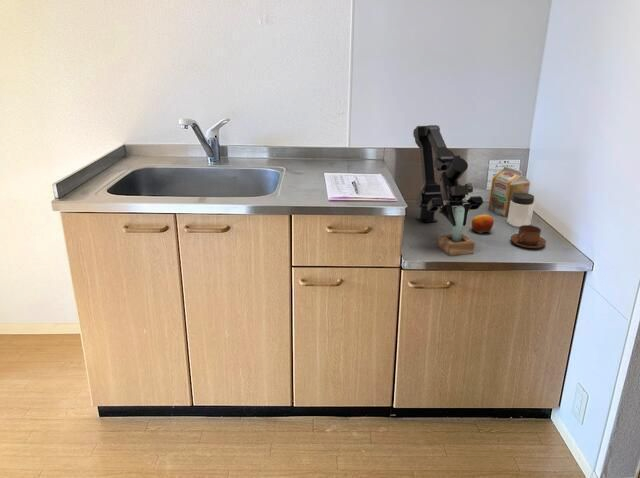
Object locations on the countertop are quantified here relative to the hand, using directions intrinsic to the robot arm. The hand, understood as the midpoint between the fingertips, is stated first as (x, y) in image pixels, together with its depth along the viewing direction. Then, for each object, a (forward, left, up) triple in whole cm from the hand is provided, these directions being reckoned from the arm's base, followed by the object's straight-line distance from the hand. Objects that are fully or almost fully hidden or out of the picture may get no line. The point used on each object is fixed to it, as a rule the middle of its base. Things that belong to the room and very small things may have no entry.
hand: (459, 225), depth 171 cm
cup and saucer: (+1, +28, -10) cm, 30 cm away
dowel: (-1, 0, -7) cm, 7 cm away
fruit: (-14, +19, -10) cm, 26 cm away
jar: (-17, +38, -10) cm, 43 cm away
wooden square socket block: (-1, 0, -9) cm, 10 cm away
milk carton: (-31, +42, -10) cm, 53 cm away
